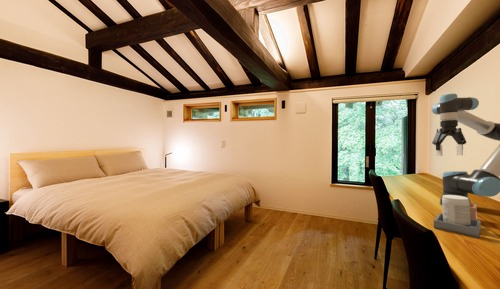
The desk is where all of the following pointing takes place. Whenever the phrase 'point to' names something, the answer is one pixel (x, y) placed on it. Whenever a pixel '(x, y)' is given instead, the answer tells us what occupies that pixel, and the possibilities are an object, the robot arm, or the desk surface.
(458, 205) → the supplement tub
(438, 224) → the gray tray
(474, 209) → the terracotta bin
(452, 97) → the robot arm
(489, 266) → the desk surface
